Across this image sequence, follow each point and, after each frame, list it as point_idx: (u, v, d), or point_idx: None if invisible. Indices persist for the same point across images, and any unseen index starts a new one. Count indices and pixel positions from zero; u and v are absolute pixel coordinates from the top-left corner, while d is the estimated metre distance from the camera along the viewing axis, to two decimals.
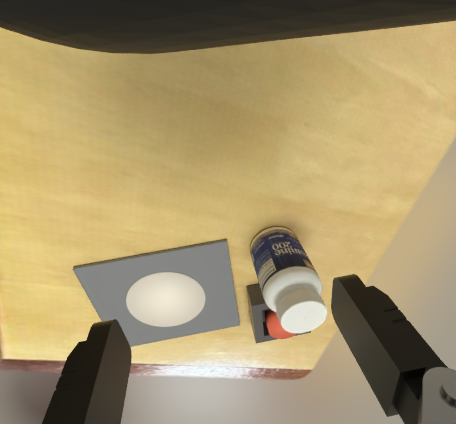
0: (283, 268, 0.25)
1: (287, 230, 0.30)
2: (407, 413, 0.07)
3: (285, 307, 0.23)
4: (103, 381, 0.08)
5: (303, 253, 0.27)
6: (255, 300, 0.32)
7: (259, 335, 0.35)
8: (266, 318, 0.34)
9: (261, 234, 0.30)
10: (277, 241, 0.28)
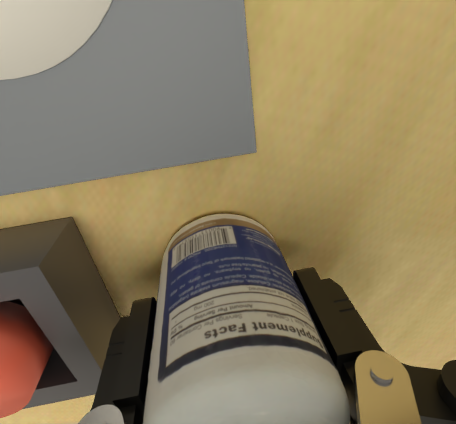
0: None
1: None
2: (346, 393, 0.08)
3: None
4: (149, 350, 0.09)
5: None
6: (54, 267, 0.10)
7: None
8: None
9: (271, 235, 0.12)
10: None
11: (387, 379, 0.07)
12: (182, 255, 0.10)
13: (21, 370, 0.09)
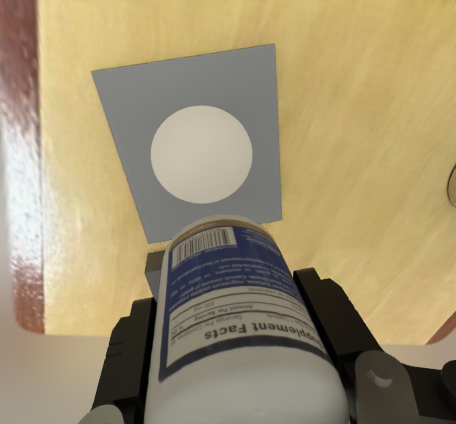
0: (337, 373, 0.08)
1: None
2: (346, 393, 0.08)
3: None
4: (149, 350, 0.09)
5: None
6: None
7: (160, 274, 0.28)
8: None
9: (271, 236, 0.12)
10: None
11: (387, 379, 0.07)
12: (182, 256, 0.10)
13: None
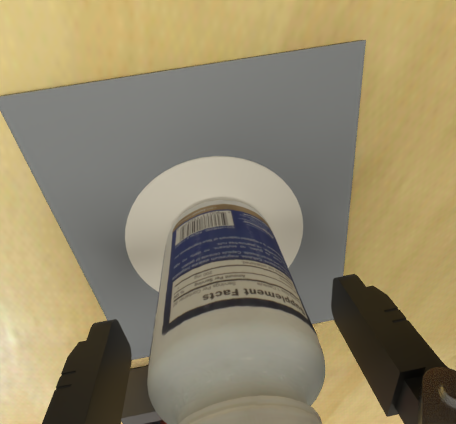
0: None
1: None
2: (406, 412, 0.07)
3: None
4: (103, 381, 0.08)
5: None
6: None
7: (146, 418, 0.17)
8: None
9: (266, 221, 0.13)
10: None
11: None
12: (185, 234, 0.11)
13: None
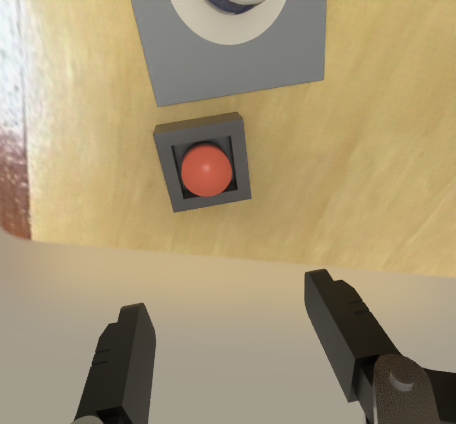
0: None
1: None
2: (363, 397, 0.08)
3: None
4: (136, 358, 0.09)
5: None
6: None
7: (173, 138, 0.22)
8: (209, 144, 0.23)
9: None
10: None
11: (407, 383, 0.07)
12: None
13: (230, 165, 0.23)
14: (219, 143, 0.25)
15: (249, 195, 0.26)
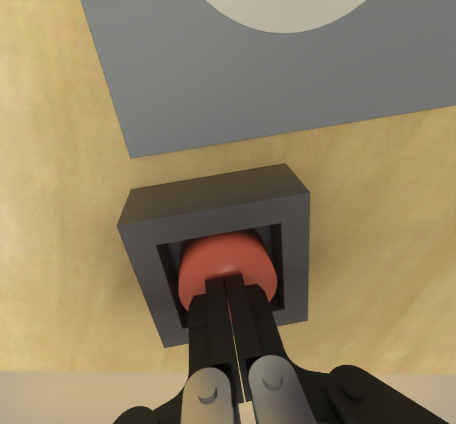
0: None
1: None
2: (251, 397, 0.08)
3: None
4: (230, 323, 0.09)
5: None
6: None
7: (160, 231, 0.10)
8: None
9: None
10: None
11: (277, 382, 0.07)
12: None
13: (275, 273, 0.12)
14: None
15: (304, 316, 0.14)
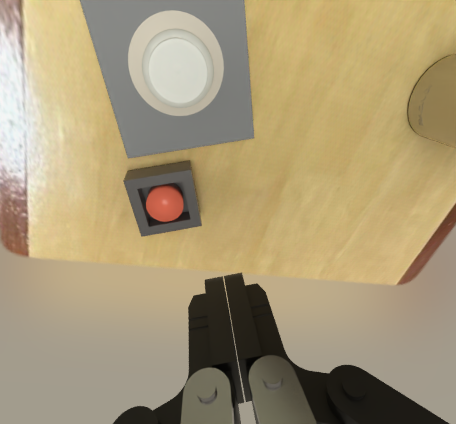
0: None
1: None
2: (251, 397, 0.08)
3: (196, 46, 0.19)
4: (230, 324, 0.09)
5: None
6: (191, 172, 0.31)
7: (138, 183, 0.30)
8: (167, 184, 0.32)
9: None
10: None
11: (277, 382, 0.07)
12: None
13: (182, 199, 0.31)
14: (176, 184, 0.33)
15: (200, 223, 0.33)
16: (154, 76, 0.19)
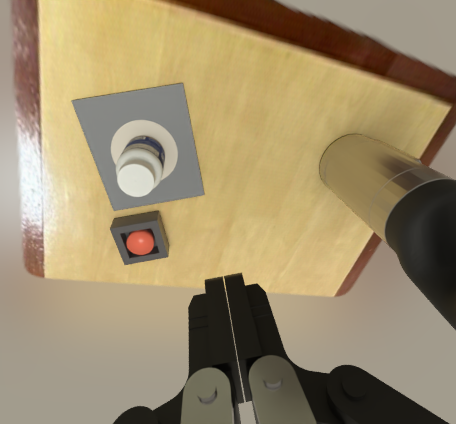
0: (160, 162, 0.34)
1: None
2: (251, 397, 0.08)
3: (145, 166, 0.31)
4: (230, 324, 0.09)
5: None
6: (158, 221, 0.43)
7: (120, 230, 0.43)
8: None
9: (160, 143, 0.39)
10: (163, 156, 0.38)
11: (277, 382, 0.07)
12: (130, 142, 0.37)
13: (152, 240, 0.44)
14: (149, 227, 0.45)
15: (166, 255, 0.46)
16: (121, 183, 0.31)
